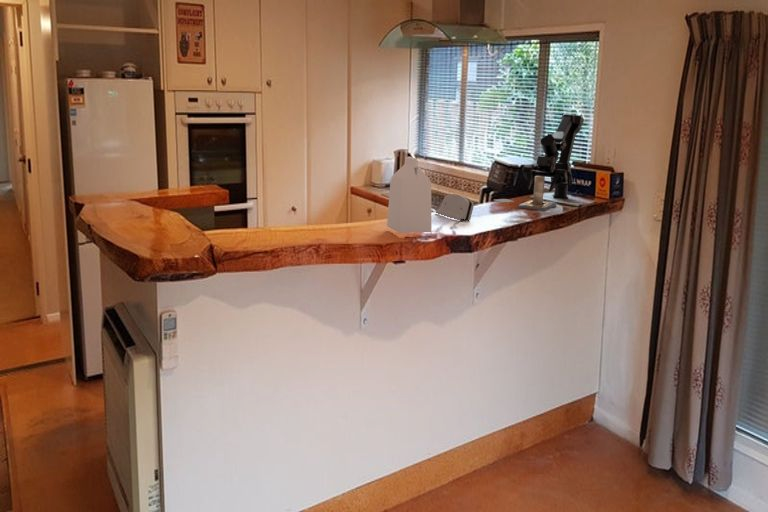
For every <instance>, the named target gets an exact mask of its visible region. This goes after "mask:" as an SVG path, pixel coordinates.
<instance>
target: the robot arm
mask: <svg viewBox="0 0 768 512" xmlns="http://www.w3.org/2000/svg"><path fill="white" fill-rule="evenodd" d="M584 122H585V121H584V117H582V115H580V114H573V113H563V114H562V117H561V120H560V123H559V124H558V126H557V128H556V130H555V132H554V133H547V135H545V136H543V137H542V138H541V139H540V145H541V149H542V152H543V153H544V155H539V156H537V159H536V162H535V163H536V165H537V169H538V170H537V169H536V170H535V169H534V167H533V166H523V167H522V170H521V173H522V176H523V178H524V179H525V180H526V181H527V190H529V191H530V189H531V187H532V184H533V182H534V179H535V176H544V177H545V178H550V187H549V189H548V192H549V193H551V192H552V191H553V190H554V193H553V194H552V197H553V198H554V197H555V198H554V199H569V197H568V187H569V186H572V185H573V176H572V175H573V174H572V169H571V166H570V160H571V156H572V152H573V148H574V142H575V139H576V135H577V134H578V133H579V132H580V131H581V129H582V126H583V125H584ZM559 152H560V153H559Z"/></svg>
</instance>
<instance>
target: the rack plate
mask: <svg viewBox="0 0 768 512" xmlns="http://www.w3.org/2000/svg"><path fill="white" fill-rule="evenodd" d="M556 206H557V202H554V201H545V200H543V204H542V205H537V204H533V199H530V200H528V201H525V202H523V203H520V204H518V209H519V208H520V209H527V210H533V211H534V210H535V211H540V212H545V211H547V210H549V209H552V208H555V207H556Z"/></svg>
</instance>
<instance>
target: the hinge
mask: <svg viewBox="0 0 768 512" xmlns="http://www.w3.org/2000/svg"><path fill="white" fill-rule="evenodd" d="M474 207H475V204H474V202H473V201H472V200H470V199H469V198H468V197H466V196H464V195H462V194H458V193H456V194H455V193H448V194H446V195H444V198H443V200H442V201H441V204H440V207H439V208H438V209H436V212H435V213H438V214H441V215H444V216H447V217H450V218H454V219H457V220H463V219H464V221H467V220H470V221H471V218H472V215H473V210H474ZM465 219H466V220H465Z"/></svg>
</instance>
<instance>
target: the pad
mask: <svg viewBox="0 0 768 512" xmlns="http://www.w3.org/2000/svg"><path fill="white" fill-rule="evenodd" d="M494 201H495V202H499V203H513V202H516V201H514V200H511V199H507V198H499V199H498V198H497V199H494Z"/></svg>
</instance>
